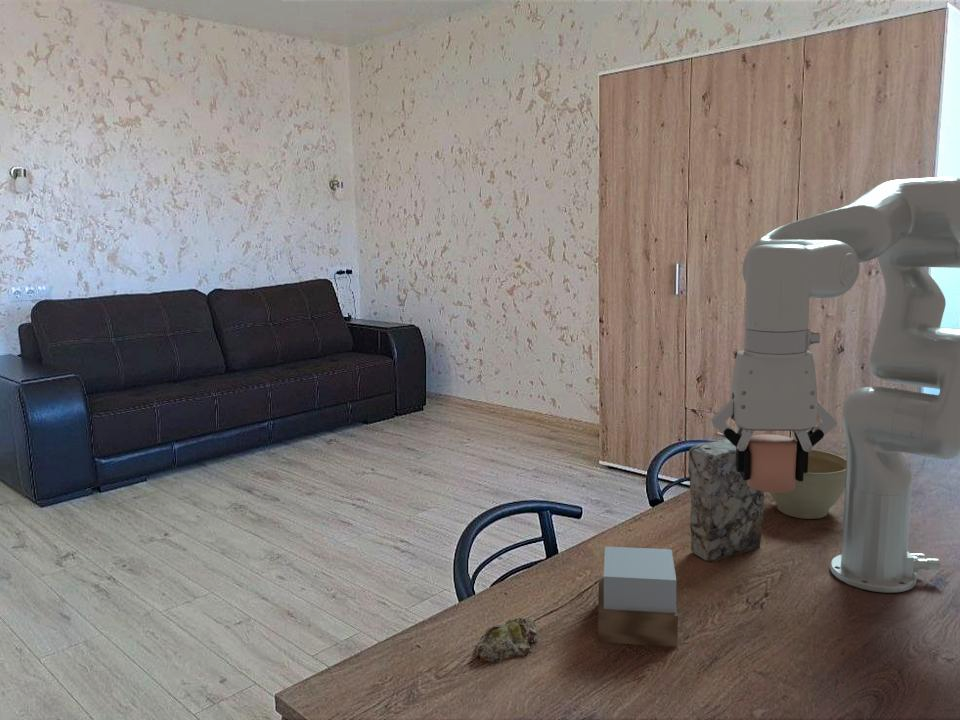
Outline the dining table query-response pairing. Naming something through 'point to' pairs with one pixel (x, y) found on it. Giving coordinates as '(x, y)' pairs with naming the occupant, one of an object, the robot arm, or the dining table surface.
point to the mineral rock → (507, 640)
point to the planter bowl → (815, 487)
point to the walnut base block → (635, 625)
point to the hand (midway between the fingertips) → (770, 476)
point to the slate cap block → (639, 579)
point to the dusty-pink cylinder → (772, 463)
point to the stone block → (722, 504)
